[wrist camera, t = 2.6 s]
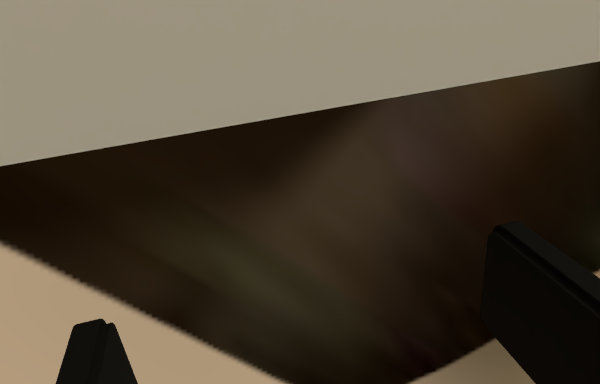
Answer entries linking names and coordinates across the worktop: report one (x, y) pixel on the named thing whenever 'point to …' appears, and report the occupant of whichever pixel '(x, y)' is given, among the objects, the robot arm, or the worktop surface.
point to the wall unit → (253, 60)
